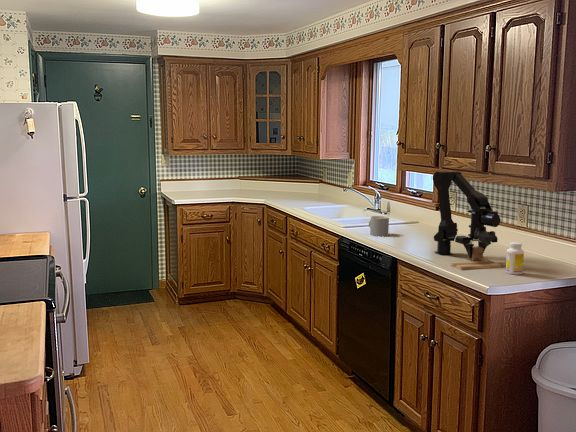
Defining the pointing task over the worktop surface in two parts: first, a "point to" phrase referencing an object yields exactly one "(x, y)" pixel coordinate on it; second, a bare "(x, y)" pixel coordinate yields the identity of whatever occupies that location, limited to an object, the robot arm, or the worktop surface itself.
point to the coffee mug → (379, 226)
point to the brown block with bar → (477, 254)
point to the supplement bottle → (514, 259)
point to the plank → (475, 264)
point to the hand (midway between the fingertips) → (475, 257)
